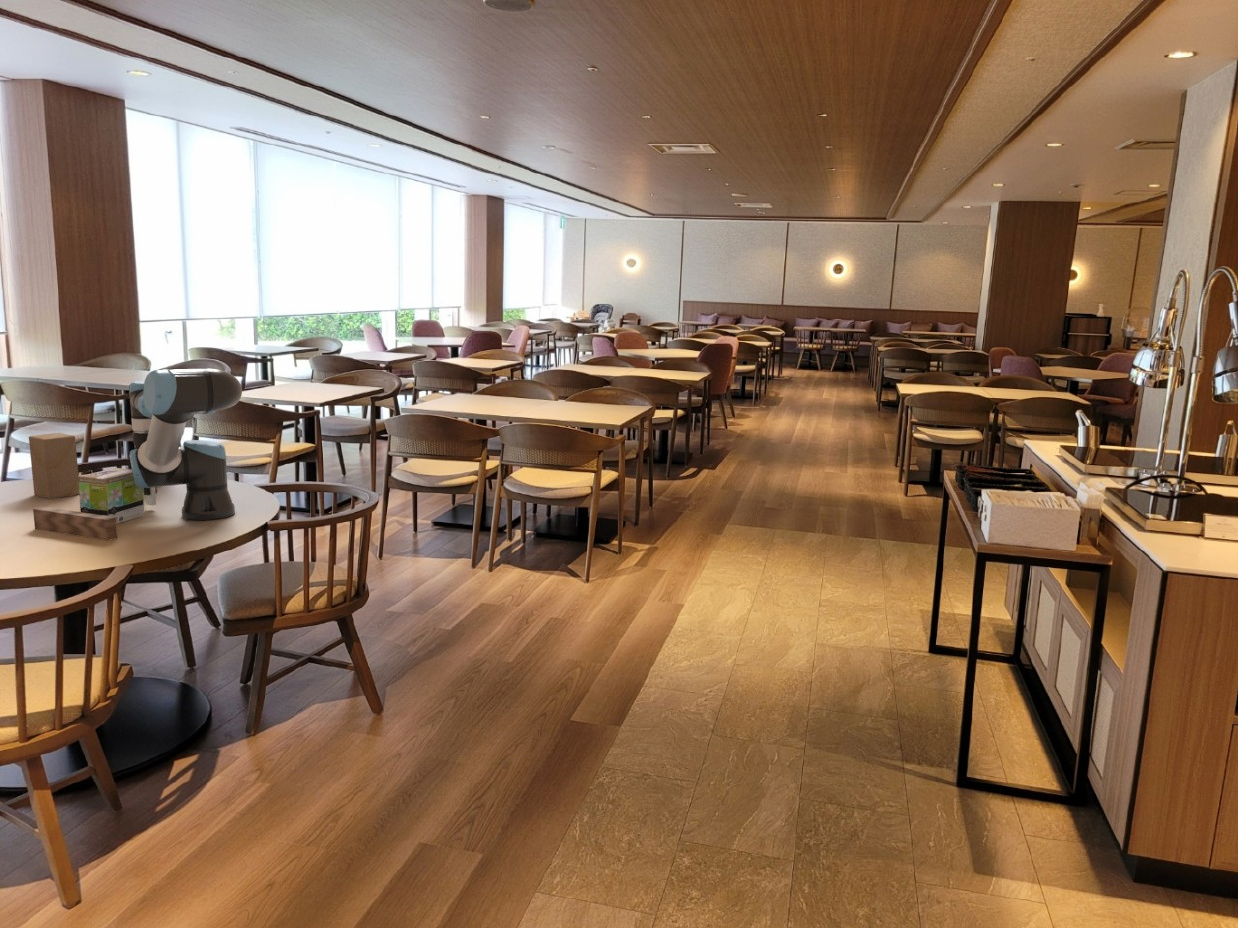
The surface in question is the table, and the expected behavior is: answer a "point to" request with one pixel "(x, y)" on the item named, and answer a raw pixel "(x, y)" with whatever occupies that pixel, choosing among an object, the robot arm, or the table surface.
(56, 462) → the wooden block
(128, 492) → the tea box
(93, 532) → the walnut plank
